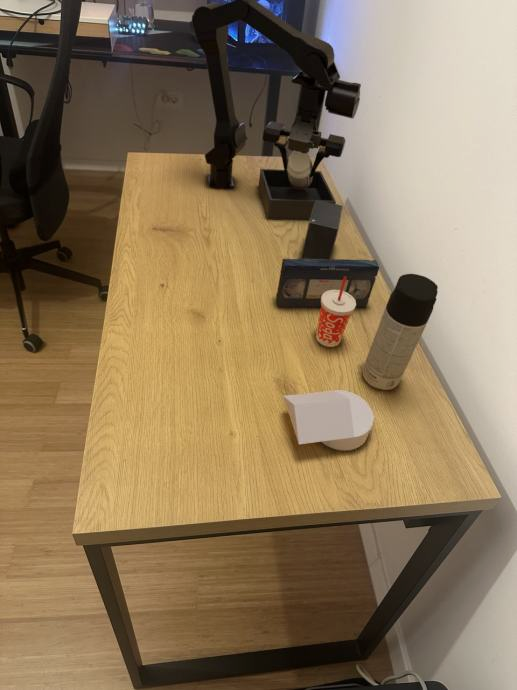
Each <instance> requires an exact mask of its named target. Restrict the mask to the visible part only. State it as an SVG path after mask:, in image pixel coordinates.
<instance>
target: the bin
mask: <svg viewBox="0 0 517 690" xmlns="http://www.w3.org/2000/svg"><path fill="white" fill-rule="evenodd" d="M257 187H258V191H259V194H260V198H261V202H262V205H263V208H264V211H265V215H266V219H267V220H291V221H309V220H310V217H311V214H312V210H313V207H314V204H315V201H316V200H320V201H324V202H328V203H333V204H337V201H336V198H335V197H334V195H333V193H332V191H331V189H330V187H329V184H328V183H327V181H326V179H325V176H324V175H323V173H322V171H321V170H315V172H314V174H313V178H312V182H311V184H310V185H309V186H308V187H307V188H305V189H296V188H294V187H293V186H292V185H291V184H290V182H289V177H288V170H287V171H284V169H277V168H276V169H275V168H260V170H259V179H258V186H257Z"/></svg>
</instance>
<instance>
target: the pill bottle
mask: <svg viewBox="0 0 517 690" xmlns="http://www.w3.org/2000/svg"><path fill="white" fill-rule="evenodd" d="M312 167H313V162H312V160H311V157H310V155H309V153H305V154H304V153H301V152H298V151H292V153H291V154H289V161H288V164H287V170H288V177H289V182H290V184H291V185H292V186H293V187H294V188H296V189H305V188H307V187H308V186H309V185H310V184H311V182H312V178H313V176H312V177H310V175H311V170H312Z"/></svg>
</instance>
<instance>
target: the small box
mask: <svg viewBox="0 0 517 690" xmlns="http://www.w3.org/2000/svg"><path fill="white" fill-rule="evenodd" d="M343 208H344V207H343V205H342V204H337V203H336V204H333V203H328V202H324V201H320V200H316V201H315V204H314V207H313V210H312V214H311V217H310V220H308V225H307V230H306V235H305V239H304V244H303V248H302V253H301V257H300V259H328V260H332V255H333V251H334V248H335V245H336V240H337V238H338V234H339V229H340V223H341V218H342V213H343Z"/></svg>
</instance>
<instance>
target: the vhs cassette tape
mask: <svg viewBox="0 0 517 690" xmlns="http://www.w3.org/2000/svg"><path fill="white" fill-rule="evenodd" d="M379 270H380V266H379V263H378V261H377V259H372V260H371V259H350V258H349V259H348V258H347V259H345V258H343V259H342V258H341V259H340V258H338V259H337V258H335V259H330V260H328V259H301V258H282V261H281V267H280V272H279V273H280V274H279V279H278V280H279V281H278V284H277V291H276V296H275V298H276V304H277V307H279V308H321V297H322V295H323V293H325V292H326V291H329V290H340V289H341V286H342V282H343V278H344V276H346V277H347V278H346V282H345V285H344V289H343V291H344V292H347V293H348V294H350V295H351V296H352V297H353V298H354V299H355V301H356V306H355V308H366V307H367V306H368V303H369V301H370V297H371V294H372V291H373V288H374V285H375V283H376V280H377V276H378V273H379Z"/></svg>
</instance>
